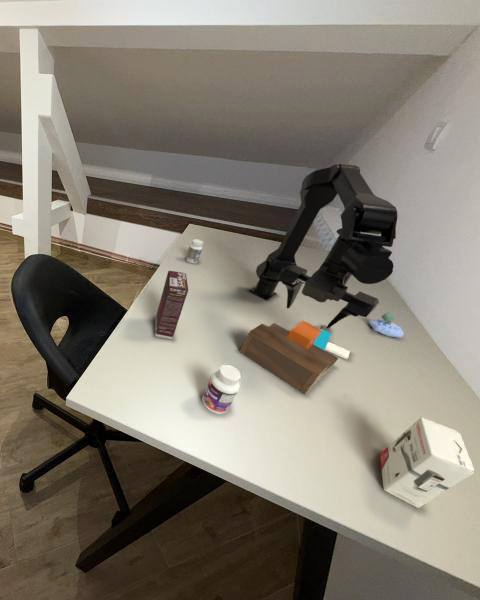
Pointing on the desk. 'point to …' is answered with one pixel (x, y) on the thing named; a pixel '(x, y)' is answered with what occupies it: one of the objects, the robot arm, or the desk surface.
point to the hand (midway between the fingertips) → (307, 317)
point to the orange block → (304, 334)
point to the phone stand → (330, 344)
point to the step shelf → (287, 356)
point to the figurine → (387, 326)
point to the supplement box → (171, 304)
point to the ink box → (424, 462)
